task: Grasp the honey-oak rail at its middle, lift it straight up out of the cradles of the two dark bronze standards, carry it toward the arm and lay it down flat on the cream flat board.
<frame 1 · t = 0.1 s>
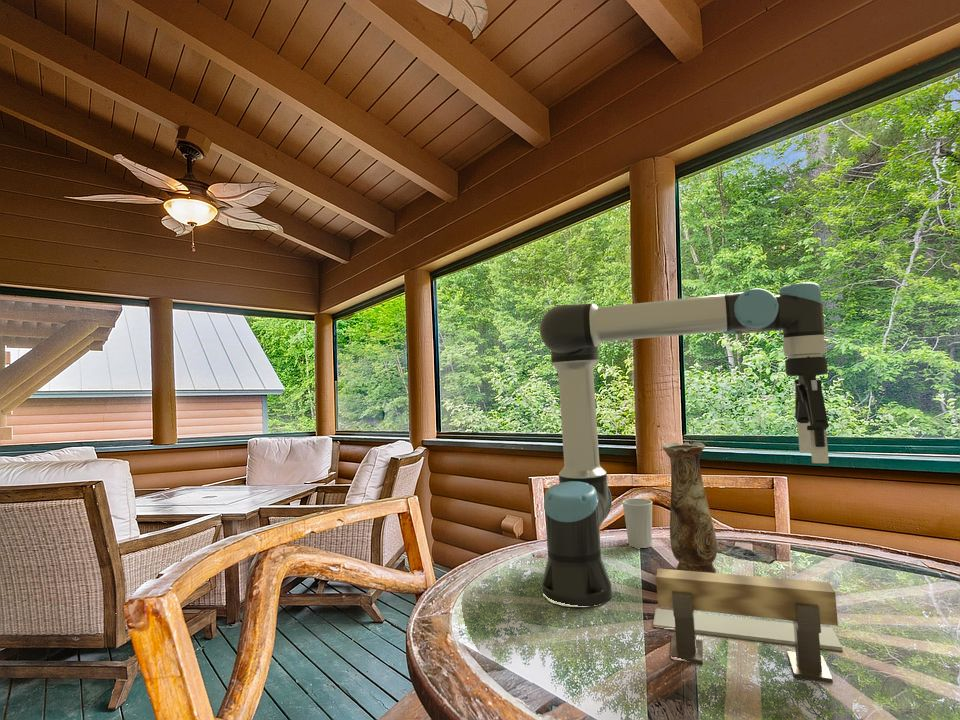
hand: (813, 457, 110), 28 cm above the table, fingers open, 13 cm apart
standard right: (809, 668, 83), on the table
vase: (694, 571, 125), on the table
cup: (640, 545, 145), on the table
cream flat board: (740, 629, 96), on the table
rail: (741, 610, 86), point 8 cm above the table, touching standard left, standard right
standard left: (686, 651, 89), on the table
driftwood: (733, 554, 136), on the table
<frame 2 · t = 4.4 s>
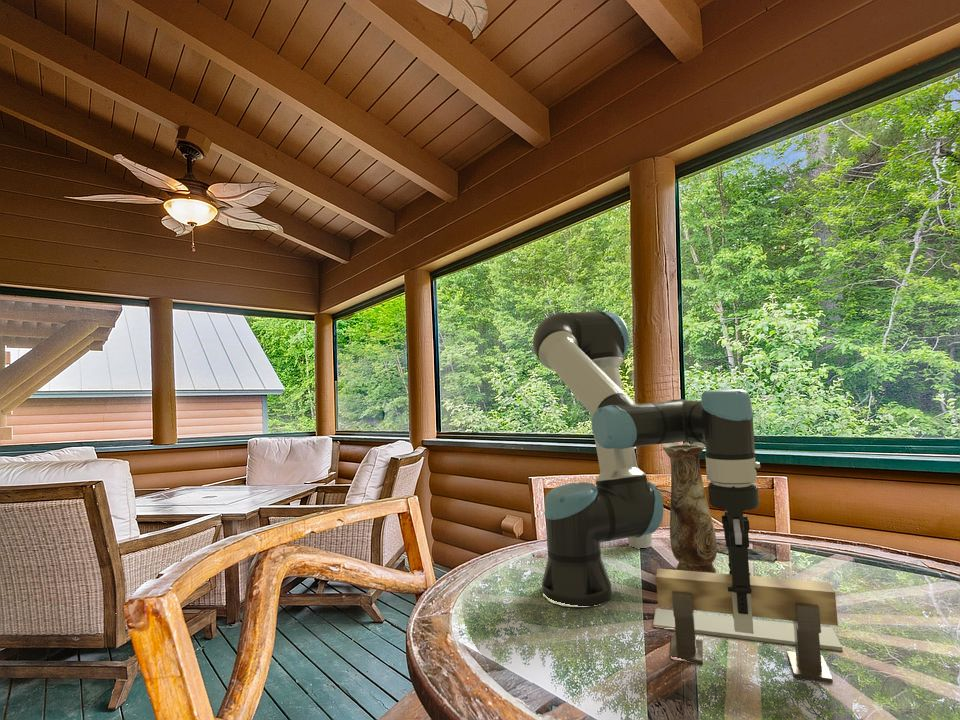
hand: (742, 624, 86), 6 cm above the table, fingers closed on rail, 4 cm apart
rail: (741, 610, 86), point 8 cm above the table, touching gripper, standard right
when the fingers open (1 cm above the table, at t = 11.1 s): rail drops 3 cm, resting on cream flat board.
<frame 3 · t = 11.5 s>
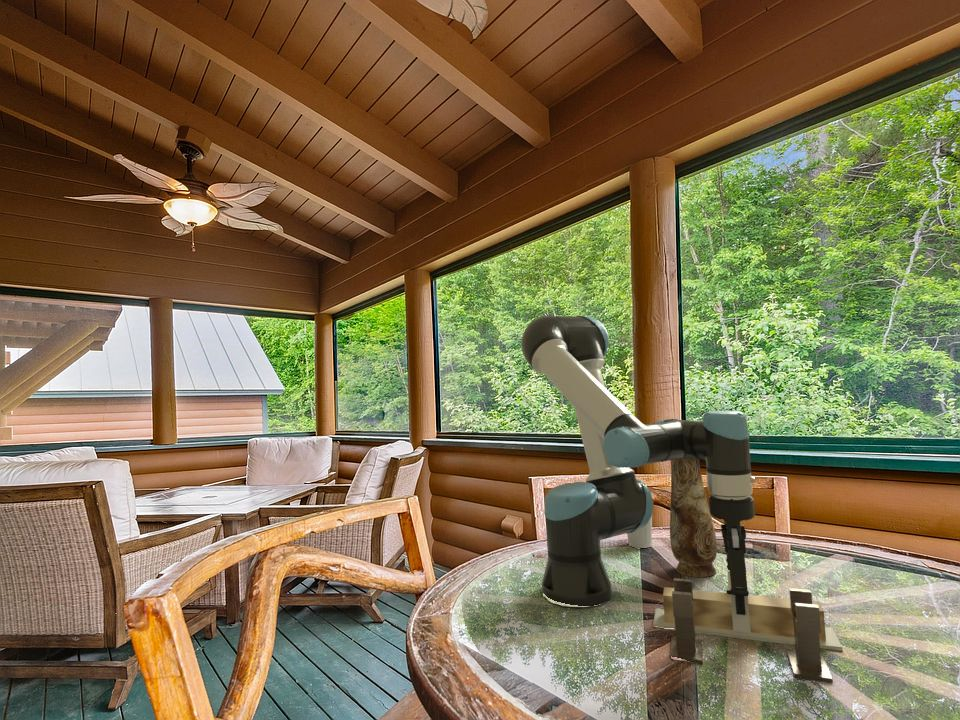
hand: (739, 618, 96), 2 cm above the table, fingers open, 9 cm apart
rail: (740, 626, 96), point 1 cm above the table, touching cream flat board
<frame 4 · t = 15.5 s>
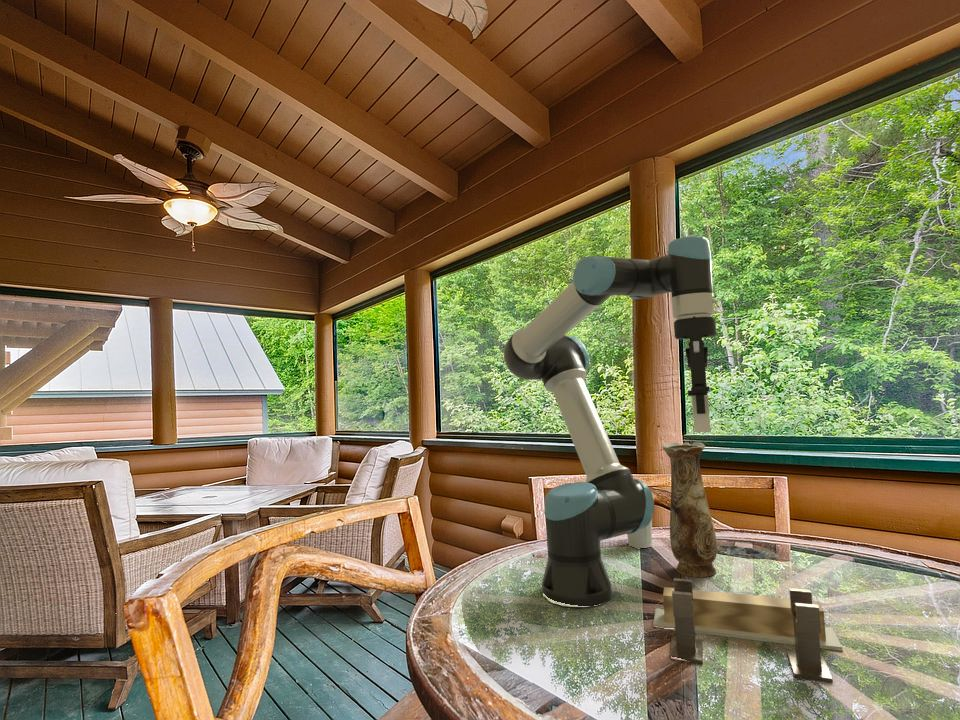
hand: (702, 427, 100), 37 cm above the table, fingers open, 13 cm apart
at the end: rail inside the target area on the cream flat board (0.0 cm from its centre), point 0.6 cm above the cream flat board's base; rail tilted 0°; the gripper is holding nothing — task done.
